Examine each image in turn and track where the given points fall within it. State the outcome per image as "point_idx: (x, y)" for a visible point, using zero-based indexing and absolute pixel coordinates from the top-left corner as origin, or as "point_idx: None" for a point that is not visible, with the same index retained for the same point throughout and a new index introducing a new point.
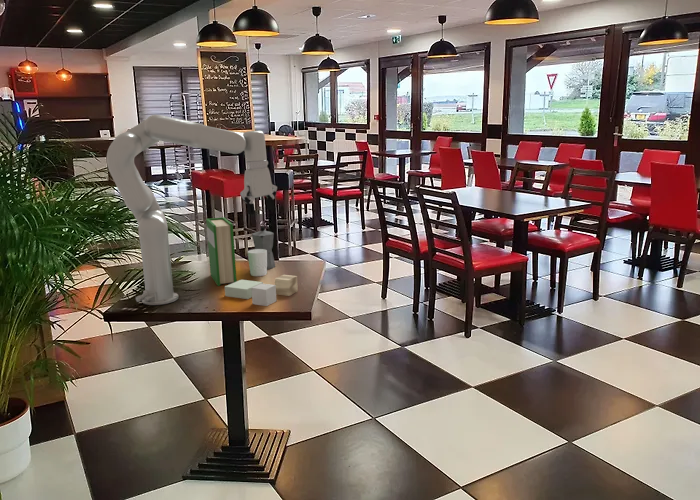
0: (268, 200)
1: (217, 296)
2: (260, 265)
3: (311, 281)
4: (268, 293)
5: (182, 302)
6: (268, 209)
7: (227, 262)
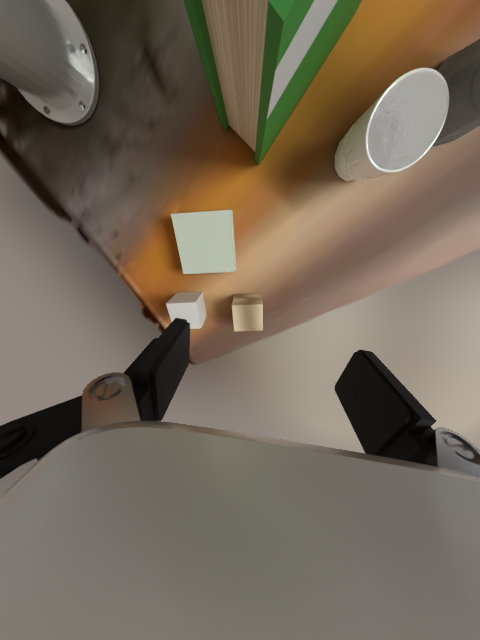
0: (388, 427)
1: (166, 200)
2: (351, 172)
3: (321, 307)
4: None
5: (92, 152)
6: (351, 359)
7: (246, 117)
